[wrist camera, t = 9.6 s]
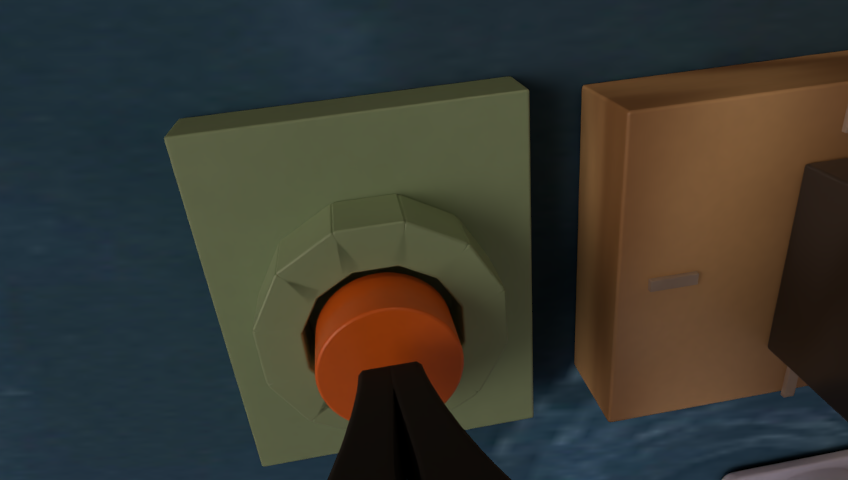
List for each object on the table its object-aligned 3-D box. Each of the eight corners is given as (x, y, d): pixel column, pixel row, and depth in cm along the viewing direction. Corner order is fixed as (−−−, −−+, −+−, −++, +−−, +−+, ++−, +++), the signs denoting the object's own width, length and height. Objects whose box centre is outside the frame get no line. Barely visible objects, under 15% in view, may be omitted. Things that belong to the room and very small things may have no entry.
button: (455, 372, 17) (469, 415, 15) (327, 394, 17) (328, 440, 15) (446, 260, 15) (459, 296, 14) (303, 283, 15) (301, 322, 13)
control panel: (573, 366, 22) (610, 429, 19) (580, 80, 17) (631, 109, 14) (879, 312, 23) (957, 365, 20) (965, 30, 18) (1082, 47, 15)
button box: (519, 384, 22) (552, 459, 19) (266, 429, 21) (256, 515, 18) (511, 75, 17) (554, 106, 14) (177, 118, 16) (142, 162, 13)
